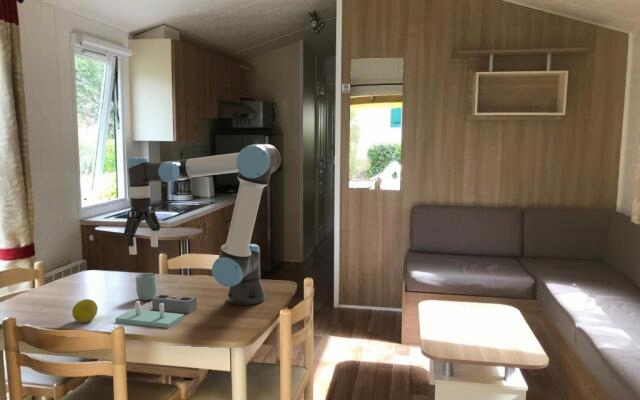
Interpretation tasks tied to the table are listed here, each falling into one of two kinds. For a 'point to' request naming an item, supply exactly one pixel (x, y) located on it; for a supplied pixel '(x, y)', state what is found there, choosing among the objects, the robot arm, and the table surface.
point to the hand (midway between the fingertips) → (144, 250)
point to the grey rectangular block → (175, 303)
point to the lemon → (84, 310)
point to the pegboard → (150, 317)
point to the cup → (146, 286)
